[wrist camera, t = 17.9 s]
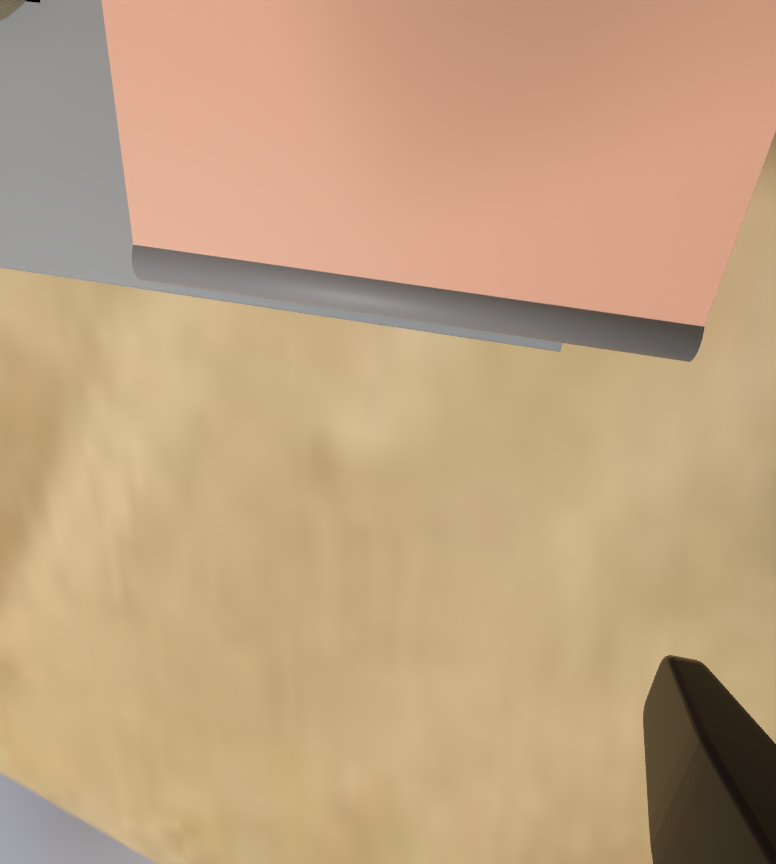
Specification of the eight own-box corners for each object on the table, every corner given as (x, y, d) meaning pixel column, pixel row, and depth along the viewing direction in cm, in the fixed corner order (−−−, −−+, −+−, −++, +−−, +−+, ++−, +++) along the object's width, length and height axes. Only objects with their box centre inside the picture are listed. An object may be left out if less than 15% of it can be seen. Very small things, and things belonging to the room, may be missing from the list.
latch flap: (681, 347, 15) (863, -169, 10) (690, 370, 14) (894, -183, 9) (157, 270, 16) (102, -223, 12) (134, 287, 15) (65, -240, 11)
